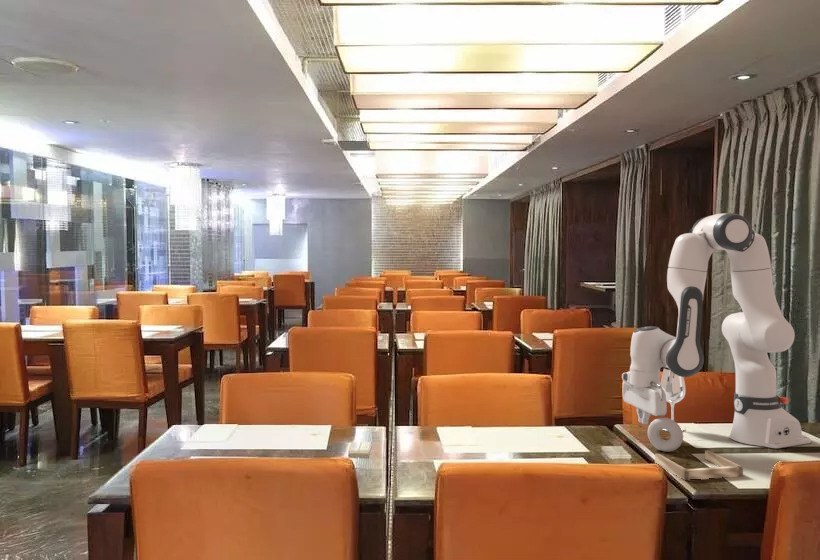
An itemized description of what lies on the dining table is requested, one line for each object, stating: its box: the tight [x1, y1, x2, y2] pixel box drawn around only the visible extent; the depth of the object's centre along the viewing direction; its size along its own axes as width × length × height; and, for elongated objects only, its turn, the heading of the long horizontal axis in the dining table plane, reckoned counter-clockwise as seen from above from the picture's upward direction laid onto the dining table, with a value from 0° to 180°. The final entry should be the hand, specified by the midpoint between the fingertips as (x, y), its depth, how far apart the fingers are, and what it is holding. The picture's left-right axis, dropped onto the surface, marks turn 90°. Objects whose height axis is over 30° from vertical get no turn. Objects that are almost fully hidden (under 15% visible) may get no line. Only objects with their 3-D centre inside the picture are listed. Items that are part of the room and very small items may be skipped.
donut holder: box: [654, 449, 744, 481], centre depth 175 cm, size 16×14×2 cm
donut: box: [646, 417, 684, 453], centre depth 190 cm, size 10×4×10 cm, turn 54°
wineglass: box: [660, 367, 686, 432], centre depth 213 cm, size 8×8×20 cm
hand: (643, 423), depth 201 cm, fingers closed
